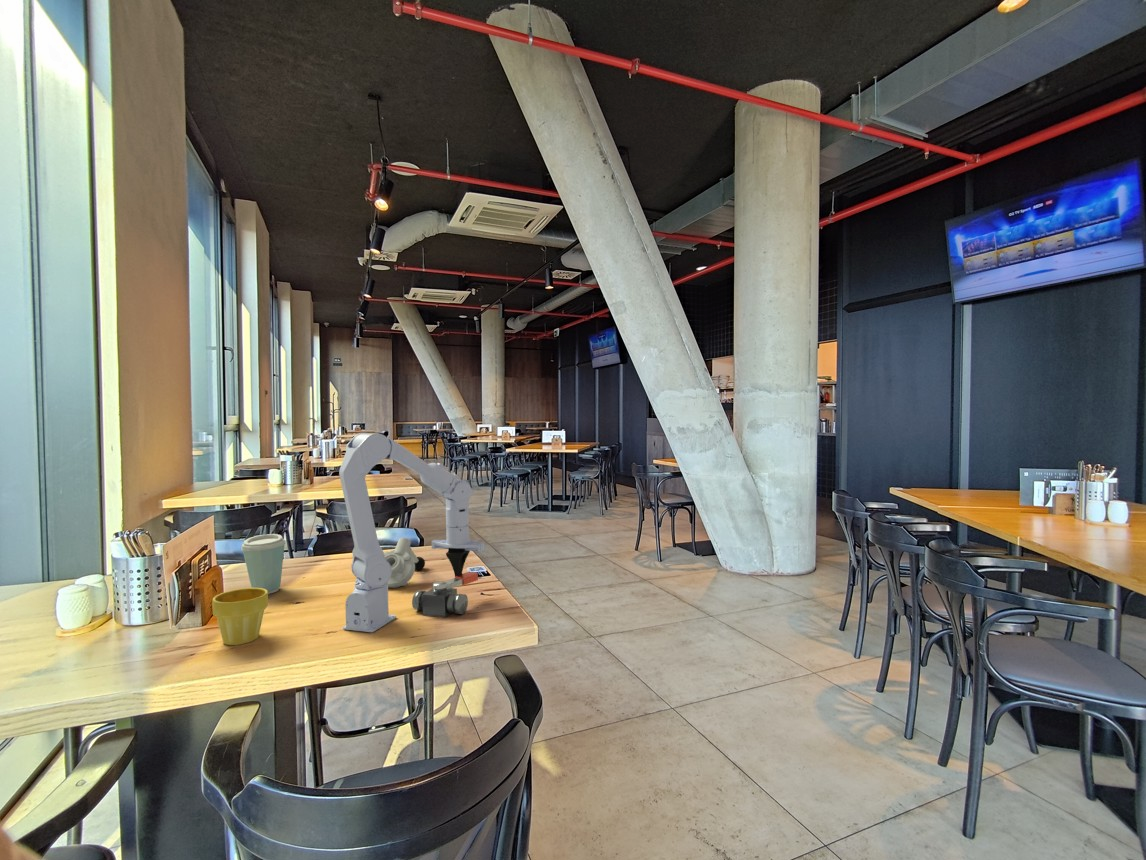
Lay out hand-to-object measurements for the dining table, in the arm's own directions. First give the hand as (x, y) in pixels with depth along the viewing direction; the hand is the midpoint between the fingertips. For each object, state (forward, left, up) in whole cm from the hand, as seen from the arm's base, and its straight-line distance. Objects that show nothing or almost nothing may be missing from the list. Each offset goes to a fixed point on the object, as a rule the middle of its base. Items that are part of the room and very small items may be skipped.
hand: (458, 577), depth 141 cm
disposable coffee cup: (-7, +56, -6) cm, 56 cm away
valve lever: (-4, -1, -1) cm, 4 cm away
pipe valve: (-9, +1, -6) cm, 10 cm away
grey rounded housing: (+13, +25, -6) cm, 29 cm away
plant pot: (-34, +35, -6) cm, 49 cm away
